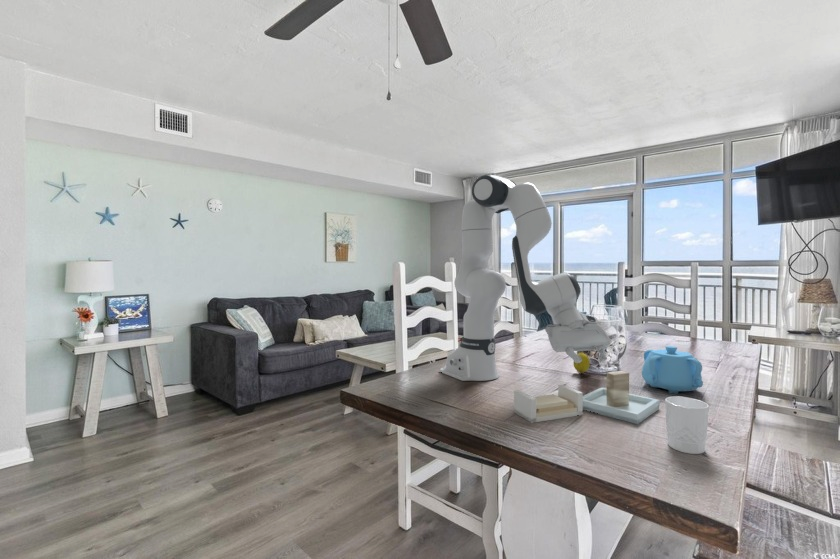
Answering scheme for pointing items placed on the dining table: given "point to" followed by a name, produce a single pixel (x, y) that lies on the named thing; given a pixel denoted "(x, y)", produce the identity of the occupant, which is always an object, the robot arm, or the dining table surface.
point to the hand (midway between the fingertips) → (591, 361)
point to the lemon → (582, 363)
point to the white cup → (686, 424)
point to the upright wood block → (617, 389)
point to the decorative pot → (672, 370)
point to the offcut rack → (549, 405)
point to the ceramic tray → (630, 413)
